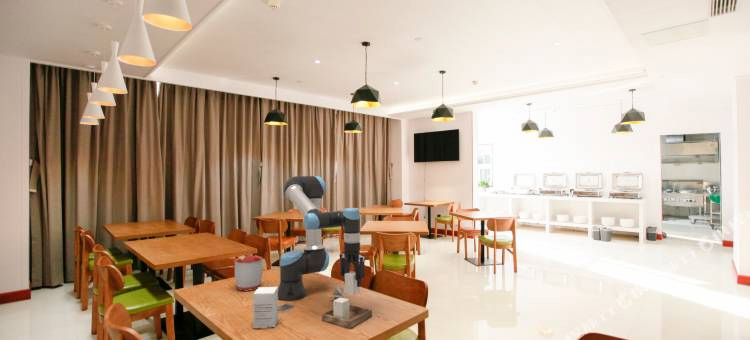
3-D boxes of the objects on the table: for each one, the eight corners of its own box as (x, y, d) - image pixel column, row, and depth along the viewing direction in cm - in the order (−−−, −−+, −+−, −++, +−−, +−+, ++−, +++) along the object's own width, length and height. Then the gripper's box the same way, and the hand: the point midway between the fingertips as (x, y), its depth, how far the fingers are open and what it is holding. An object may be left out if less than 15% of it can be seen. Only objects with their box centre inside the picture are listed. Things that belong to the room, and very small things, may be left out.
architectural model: (341, 304, 177) (341, 289, 177) (329, 302, 179) (328, 287, 179) (344, 301, 180) (344, 287, 180) (332, 300, 183) (332, 286, 183)
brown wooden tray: (321, 320, 155) (321, 314, 155) (344, 309, 169) (344, 303, 169) (350, 329, 146) (350, 322, 146) (371, 316, 160) (371, 309, 160)
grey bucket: (254, 281, 214) (254, 249, 215) (267, 288, 202) (267, 253, 202) (228, 287, 204) (228, 253, 204) (240, 294, 191) (240, 258, 191)
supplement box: (258, 320, 156) (257, 286, 157) (278, 319, 157) (278, 286, 157) (252, 329, 147) (252, 293, 148) (274, 328, 148) (274, 292, 148)
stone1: (333, 321, 153) (333, 300, 154) (340, 317, 158) (340, 297, 158) (342, 323, 151) (342, 302, 151) (349, 319, 155) (349, 299, 155)
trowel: (267, 319, 158) (267, 314, 158) (258, 316, 161) (258, 311, 161) (294, 307, 171) (294, 303, 171) (285, 305, 174) (285, 301, 174)
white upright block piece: (344, 293, 160) (344, 273, 160) (351, 290, 164) (351, 271, 165) (353, 295, 157) (353, 275, 158) (360, 292, 161) (359, 272, 162)
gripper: (331, 241, 163) (332, 291, 163) (362, 244, 153) (363, 298, 153) (342, 238, 170) (342, 287, 169) (372, 242, 159) (373, 293, 159)
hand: (352, 292), depth 161 cm, fingers closed on white upright block piece, 5 cm apart
